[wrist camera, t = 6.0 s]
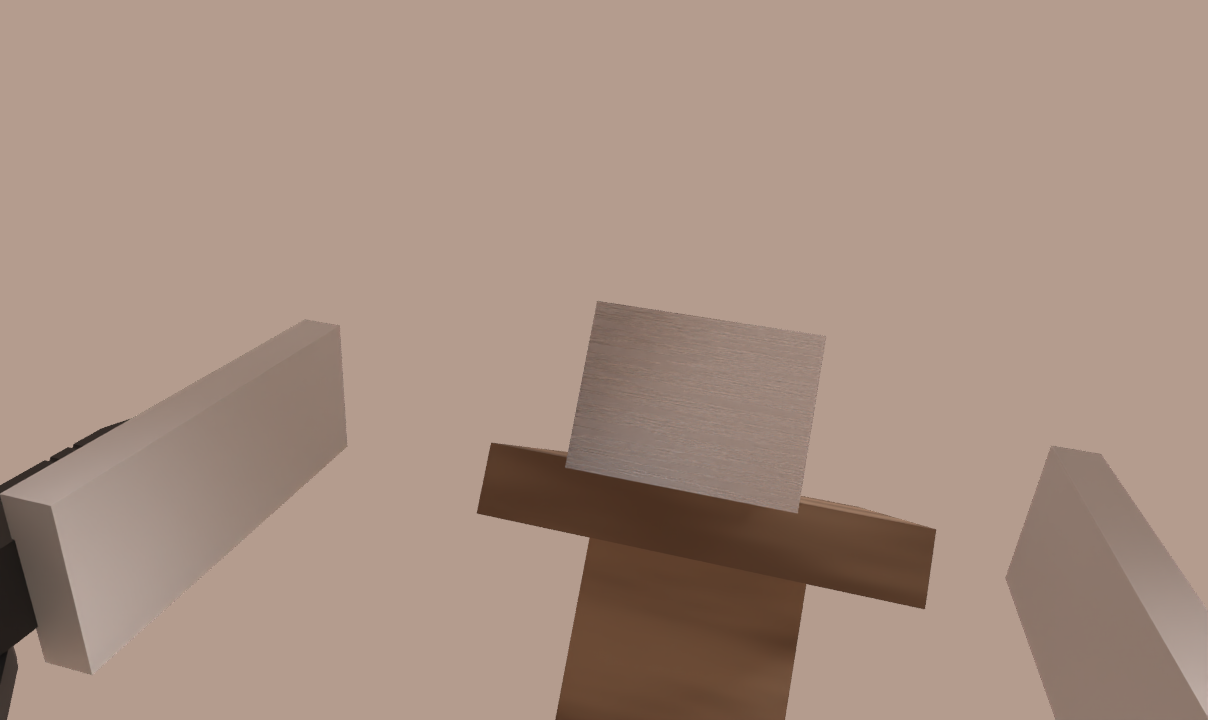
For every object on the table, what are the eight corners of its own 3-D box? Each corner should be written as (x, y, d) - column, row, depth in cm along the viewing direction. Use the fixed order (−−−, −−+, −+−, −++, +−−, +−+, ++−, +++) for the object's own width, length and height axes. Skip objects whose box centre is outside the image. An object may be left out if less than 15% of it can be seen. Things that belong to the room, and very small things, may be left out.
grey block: (676, 471, 37) (687, 408, 38) (761, 487, 36) (772, 423, 37) (565, 467, 14) (597, 301, 14) (797, 513, 13) (825, 336, 13)
